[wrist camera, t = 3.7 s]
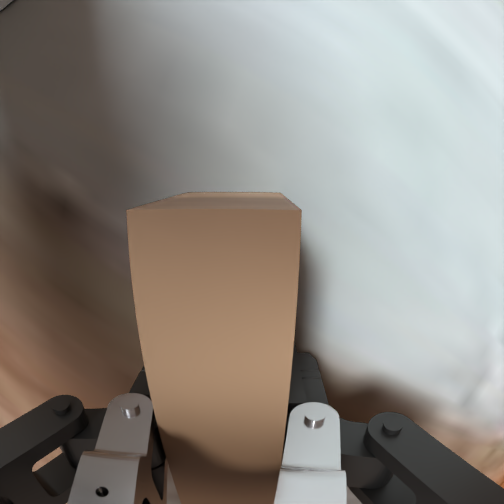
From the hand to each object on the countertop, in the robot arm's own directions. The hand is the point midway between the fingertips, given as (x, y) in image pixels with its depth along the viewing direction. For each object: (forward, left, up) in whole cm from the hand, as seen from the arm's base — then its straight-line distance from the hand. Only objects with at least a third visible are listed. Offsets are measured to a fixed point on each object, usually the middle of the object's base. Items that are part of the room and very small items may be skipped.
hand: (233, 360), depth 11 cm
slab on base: (0, 0, 0) cm, 0 cm away
